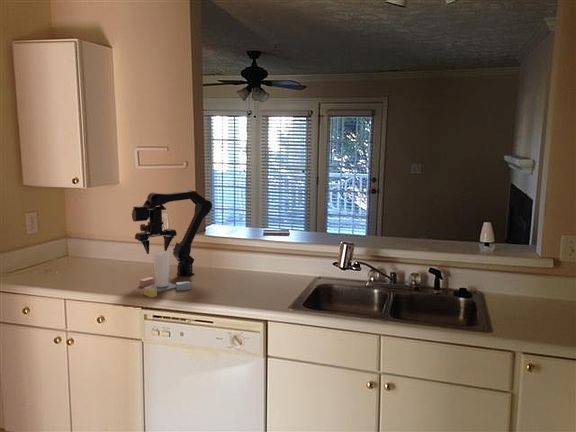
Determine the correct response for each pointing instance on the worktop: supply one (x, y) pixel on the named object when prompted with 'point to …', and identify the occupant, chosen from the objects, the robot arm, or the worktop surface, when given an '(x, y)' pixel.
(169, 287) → the slate coaster
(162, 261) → the drinking glass
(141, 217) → the robot arm
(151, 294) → the brick mustard
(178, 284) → the brick slate blue
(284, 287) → the worktop surface
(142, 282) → the brick terracotta
